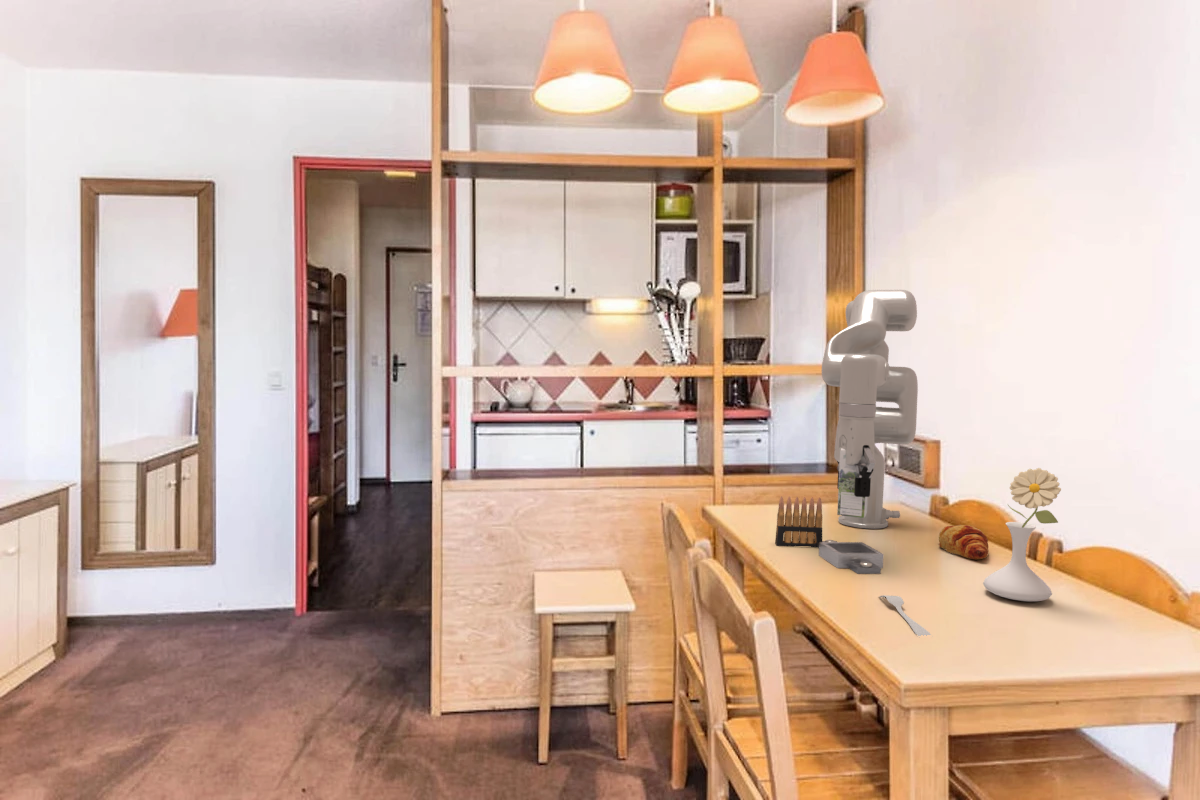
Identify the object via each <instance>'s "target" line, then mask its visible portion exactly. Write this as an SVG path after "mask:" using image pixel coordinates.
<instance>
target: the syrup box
mask: <svg viewBox="0 0 1200 800" xmlns="http://www.w3.org/2000/svg"><path fill="white" fill-rule="evenodd" d="M859 463H866V460H865V458H864V456H863V454H862V456H861V460H860V461H859ZM862 469H863V468H861V471H862ZM855 478H858V477H857V473H856V469H855V465H853V466H850V465H847V464H846V450H845V449H843V448H841V451H840V468H839V488H837V489H838V492H837V509H836V510H837V516H850V517H859V518H864V517H865V516H866V513H867V497H856V496H855V495H854V491H855Z"/></svg>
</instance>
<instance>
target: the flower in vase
mask: <svg viewBox="0 0 1200 800" xmlns="http://www.w3.org/2000/svg"><path fill="white" fill-rule="evenodd" d="M1059 486H1060V482H1059V477H1058V476H1055V474H1054V473H1051V472H1050V471H1048V470H1047V469H1042V468H1041V467H1038V468H1036V469H1032V468H1029V469H1027V470H1025V471H1019V473H1018V475H1017V476H1014V477H1013V481H1011V483H1010V486H1009V490H1010V494H1011V496H1012V497H1011V499H1012V501H1014V502H1015V503H1018V504H1019V505H1021V506H1024V507H1025V508H1028V509H1034V511H1033V512H1032V514H1031V515H1030V516H1029V517H1028V518H1027V517H1026V516H1025V515H1024V514H1023V513H1021V512H1020V511H1018V510H1016V509H1014V508H1012V507H1011V506H1010V505H1009V504H1007V506H1008V507H1009V509H1011V510H1012V511H1013V512H1016V513H1017V514H1019V515H1020V516H1022V517H1023V518H1025V519H1026V520H1025V521H1024V522H1021V521H1008V522H1005V525H1006V526H1007V528H1008V530H1009V532H1010V536H1011V543H1012V551H1011V558H1010V561H1009V562H1008V563H1007V564H1006V565H1005V566H1003V567H1001V568H1000V569H998V570H996V571H994V572H992V573H991V574H989V575H988V576H986V577H985V578H984V580H983V582H982V584H983V586H984V588H985V589H986V590H987V591H988V592H990V593H992V594H994V595H996V596H997V597H1002V598H1005V599H1009V600H1013V601H1019V602H1020V601H1021V602H1040V601H1047V600H1049V599H1050V598H1051V597H1052V595H1053V593H1052V590H1051V588H1050V586H1049V585H1048V584H1047V583H1046V582H1045V581H1044V580H1043V579H1042V578H1041V577H1040V576H1039V575H1037V574H1036V573H1035V571H1033V570H1032V569H1031V568H1030V566H1029V565H1028V563H1027V559H1026V557H1027V554H1026V553H1027V546H1028V541H1029V538H1030V536H1031V535H1032V534H1033V531H1034V530H1035V529H1036V528H1037V526H1036V525H1034V524H1031V523H1028V522H1029V521H1030V520H1031V519H1032V518H1033V517H1034V516H1035V518H1036V520H1037V521H1038V522H1039V523H1040V524H1058V523H1059V520H1058V519H1057V518H1056V517H1055V515H1054V514H1053V513H1052V512H1051V511H1050V510H1048V509H1044V510H1039V511H1038V508H1039V507H1043V508H1044V507H1046V506H1050V505H1051V504H1052V503H1053V502H1054V500H1055V499H1057V497H1058V495H1059V494H1060V492H1061V491H1062V488H1061V487H1059Z"/></svg>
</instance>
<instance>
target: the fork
mask: <svg viewBox="0 0 1200 800" xmlns="http://www.w3.org/2000/svg"><path fill="white" fill-rule="evenodd" d="M878 597H880V598H882V597H883V598H885V597H886V598H885V599H886V600H887V602H888V603H889V604H890V605H893V606H894V607H895V608H896V611H897V612H898V613H899V614H900V615H901V617H902V618H903V619H904V620H905V621H906V622H907V623H908V625H909V627H910V628H911V629H912V631H913V633H914V634H915V635H916V634H917V635H918V636H921V635H923V636H924V635H926V636H927V635H932V634H931V633H930V632H929V631H928V630H927V629H926V628H924V627H923V626H922V625H921V624H919V623H918V622H916V621H915V620H913V619H912V618H911V617H909V616H908V615H907V614H906V613H905V612H904V611H903V609H902V607H903V605H904V603H905V601H904V600H903V597H901V596H898V595H880V596H878ZM883 598H882V599H883ZM917 635H916V636H917ZM918 636H917V637H918Z"/></svg>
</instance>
